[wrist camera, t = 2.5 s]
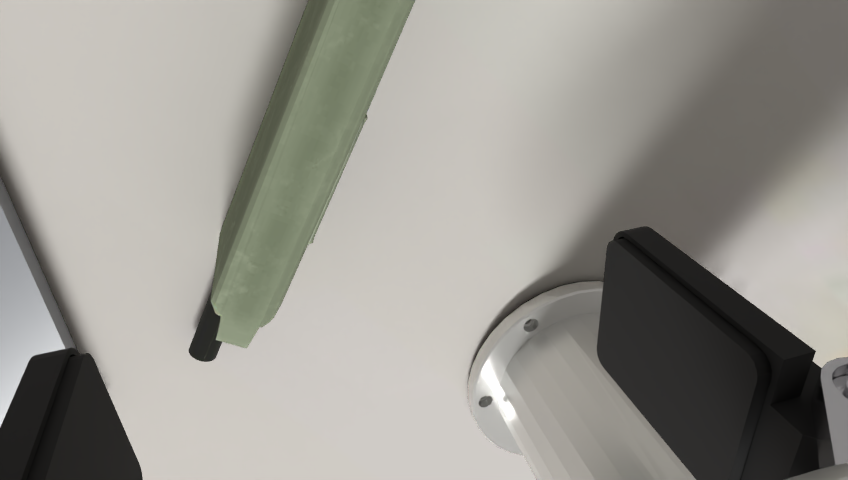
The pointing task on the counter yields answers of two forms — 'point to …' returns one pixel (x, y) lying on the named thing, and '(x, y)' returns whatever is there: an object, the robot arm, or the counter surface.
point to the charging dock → (23, 305)
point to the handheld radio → (296, 162)
